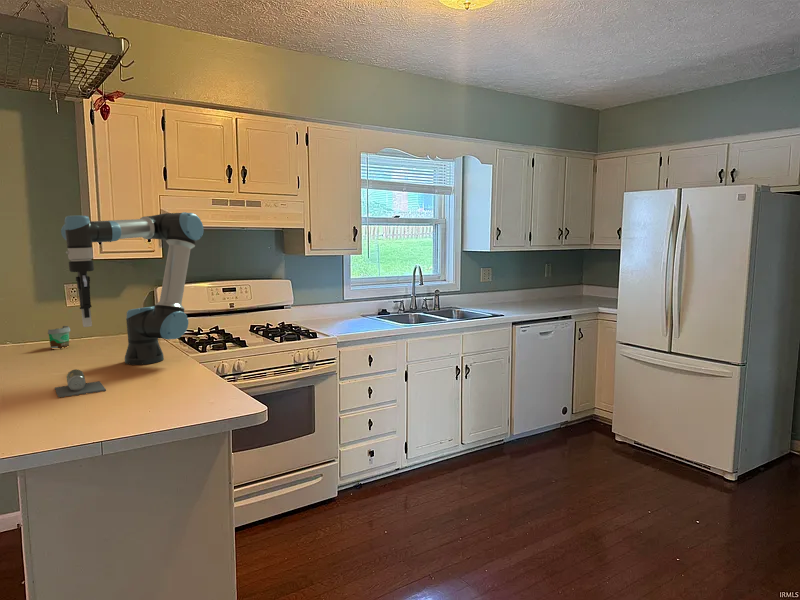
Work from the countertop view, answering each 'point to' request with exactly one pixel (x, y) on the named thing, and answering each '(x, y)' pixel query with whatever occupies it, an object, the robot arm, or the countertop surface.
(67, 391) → the rubber mat
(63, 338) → the food container
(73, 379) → the green soda can
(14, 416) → the countertop surface
